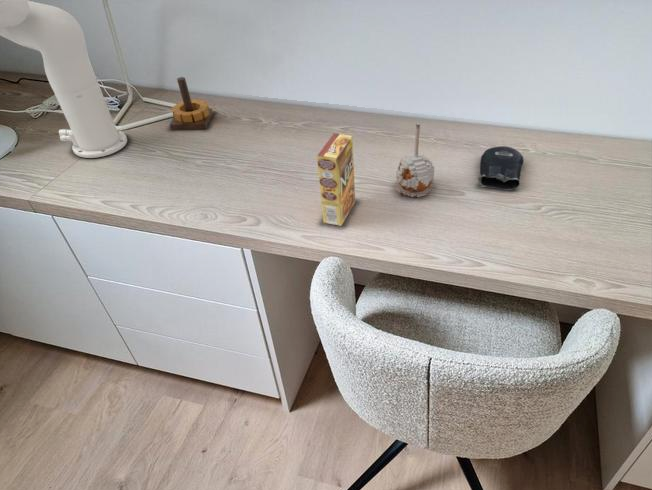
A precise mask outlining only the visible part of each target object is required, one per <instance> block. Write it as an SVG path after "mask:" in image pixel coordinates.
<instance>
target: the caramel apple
mask: <svg viewBox="0 0 652 490" xmlns="http://www.w3.org/2000/svg"><path fill="white" fill-rule="evenodd" d="M420 129H421V124H420V122H417V123H416V124H415V134H414V135H415V137H414V150H413V151H414V152H413V153H409V154H406V155H405V156H404V157H403V158H401V159H400V160H399V162H398V166H397V170H396V171H395V178H396V182H395V189H396V191H397V192H398V193H399V194H403V195H404V196H407V197H411V198H413V197H417V198H420V197H423V196H424V197H425V196H427V195H428V193H429V194H430V193H431V191H432V190H433V188H434V184H433V180H434V179H435V166H434V165H433V162H432V161H431V160H430V159H429V158H428V157H426V156H425V154H421V153H420V152H419V147H420V145H419V144H420V132H421V131H420Z"/></svg>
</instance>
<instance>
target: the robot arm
mask: <svg viewBox="0 0 652 490" xmlns="http://www.w3.org/2000/svg"><path fill="white" fill-rule="evenodd" d="M0 36H1V37H2V38H4V39H7V40H9V41H11V42H12V43H15V44H17V45H19V46H22V47H24V48H27V49H30V50H33V51H36V52H39V53H40V54H41V57H42V60H43V68H44V72H45V76H46V78H47V80H48V83H49V86H50V87H51V90H52V91H53V93H54V95H55V98H56V100H57V102H58V104H59V107H60V109H61V111H62V113H63V116H64V118H65V120H66V122H67V124H68V126H69V129H68V128H65V129H64V128H63V129H62V128H60V129H59V130H58V135H59V140H60V141H61V142H71V143H72V145H71V149H72V151H73V153H74V155H76V156H78V157H80V158H86V159H95V158H102V157H107V156H110V155H113V154H115V153H117V152H119V151H120V150H122V149H123V148H124V147H125V146H126V145H127V143H128V138H127V135H126V134H125V133H124V132H123V131H122V130H118V129H117V127H116V125H115V122H114V119H113V116H112V114H111V111H110V110H109V106H108V104H107V101H106V99H105V96H104V94H103V91H102V89H101V87H100V84H99V81H98V79H97V76H96V73H95V71H94V69H93V66H92V63H91V59H90V56H89V52H88V47H87V43H86V38H85V34H84V31H83V29H82V26H81V24H80V23H79V21H78V20H77V19H76V18H75V17H74V15H72V14H71V13H70V12H68V11H66V10H64V9H62V8H60V7H57V6H55V5H50V4H46V3H41V2H36V1H33V0H0Z"/></svg>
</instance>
